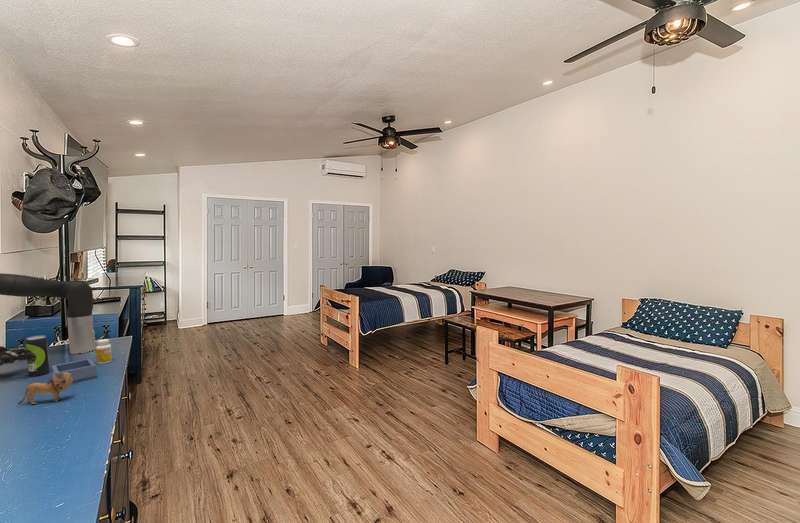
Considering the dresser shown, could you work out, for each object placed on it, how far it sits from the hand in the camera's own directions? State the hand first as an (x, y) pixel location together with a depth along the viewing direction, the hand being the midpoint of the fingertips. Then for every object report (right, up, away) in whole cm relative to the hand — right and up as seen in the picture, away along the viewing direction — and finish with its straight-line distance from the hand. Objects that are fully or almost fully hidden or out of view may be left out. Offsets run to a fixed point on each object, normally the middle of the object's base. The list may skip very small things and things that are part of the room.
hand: (37, 353), depth 156 cm
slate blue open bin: (+18, -9, -4) cm, 20 cm away
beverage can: (0, -9, +1) cm, 9 cm away
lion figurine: (+25, -11, -23) cm, 36 cm away
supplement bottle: (+16, -8, +15) cm, 23 cm away
